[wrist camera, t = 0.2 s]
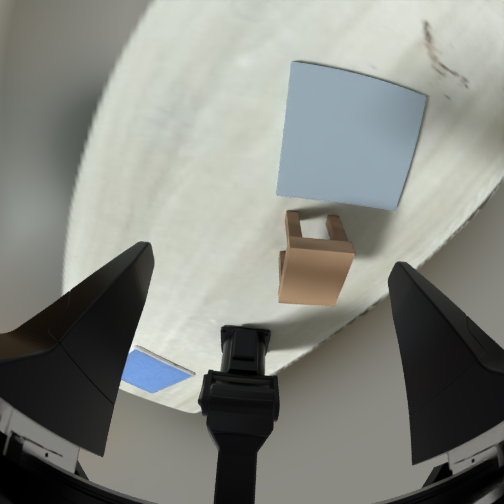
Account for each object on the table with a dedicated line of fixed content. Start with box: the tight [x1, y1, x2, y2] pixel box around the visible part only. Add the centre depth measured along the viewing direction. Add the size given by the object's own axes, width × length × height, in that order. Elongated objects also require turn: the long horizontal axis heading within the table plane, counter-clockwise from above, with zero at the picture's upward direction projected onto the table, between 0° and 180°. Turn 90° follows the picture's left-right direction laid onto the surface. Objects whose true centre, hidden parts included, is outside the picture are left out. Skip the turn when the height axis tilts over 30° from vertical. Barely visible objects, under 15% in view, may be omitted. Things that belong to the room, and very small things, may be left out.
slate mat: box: [276, 62, 427, 211], centre depth 19 cm, size 11×11×1 cm
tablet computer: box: [121, 345, 195, 393], centre depth 47 cm, size 19×13×1 cm, turn 138°
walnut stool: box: [278, 211, 355, 306], centre depth 23 cm, size 6×5×6 cm
